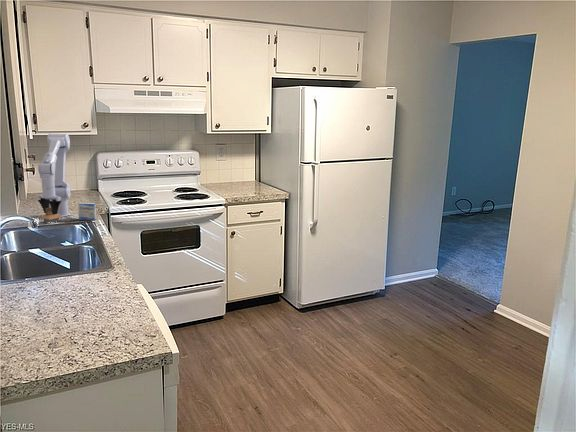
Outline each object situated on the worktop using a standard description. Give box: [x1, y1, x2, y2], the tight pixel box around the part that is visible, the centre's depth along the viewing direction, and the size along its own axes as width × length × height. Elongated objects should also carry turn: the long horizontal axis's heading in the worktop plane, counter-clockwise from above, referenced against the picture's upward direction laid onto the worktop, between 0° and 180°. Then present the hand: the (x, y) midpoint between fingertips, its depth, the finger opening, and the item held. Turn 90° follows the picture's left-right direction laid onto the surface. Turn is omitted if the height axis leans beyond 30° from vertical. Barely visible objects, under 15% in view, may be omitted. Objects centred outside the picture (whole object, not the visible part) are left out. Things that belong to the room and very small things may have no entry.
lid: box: [40, 208, 62, 220], centre depth 231 cm, size 6×6×5 cm
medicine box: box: [78, 202, 97, 221], centre depth 238 cm, size 8×4×9 cm, turn 105°
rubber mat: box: [59, 216, 80, 223], centre depth 237 cm, size 8×8×1 cm
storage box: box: [43, 218, 60, 224], centre depth 232 cm, size 5×5×3 cm
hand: (50, 213), depth 231 cm, fingers open, 6 cm apart
